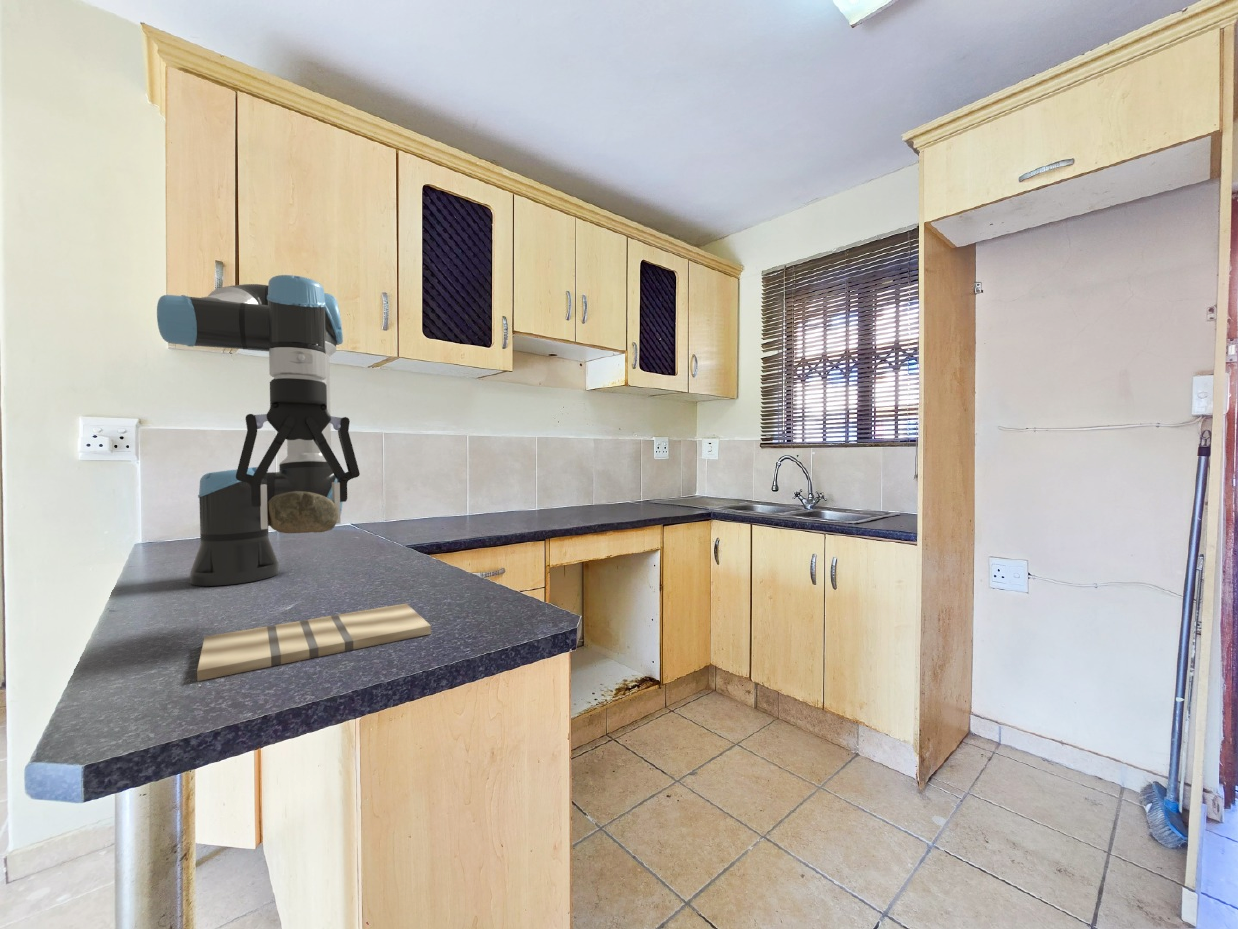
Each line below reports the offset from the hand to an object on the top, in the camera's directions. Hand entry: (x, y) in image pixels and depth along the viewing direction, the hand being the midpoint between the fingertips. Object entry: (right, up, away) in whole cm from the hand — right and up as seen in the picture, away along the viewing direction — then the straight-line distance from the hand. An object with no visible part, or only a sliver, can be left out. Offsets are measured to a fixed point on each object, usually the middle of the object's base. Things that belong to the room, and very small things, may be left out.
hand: (301, 525), depth 81 cm
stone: (-1, -1, +1) cm, 2 cm away
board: (+8, -15, -8) cm, 19 cm away
